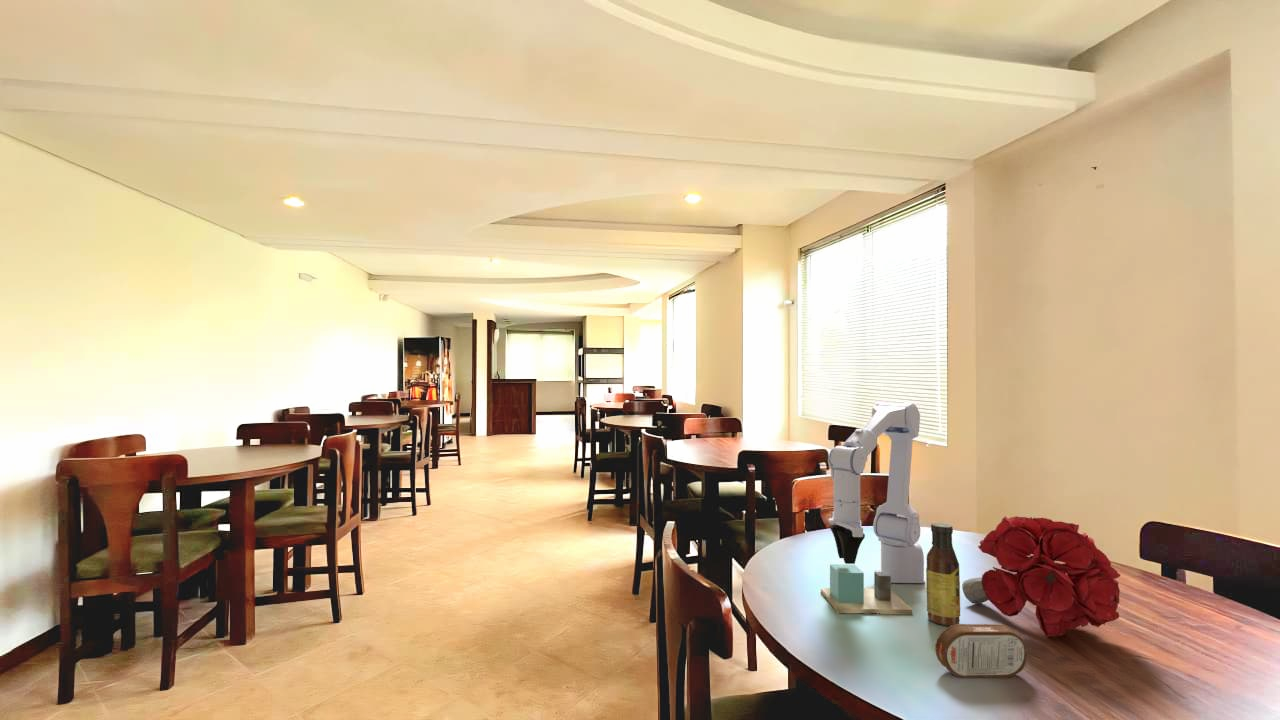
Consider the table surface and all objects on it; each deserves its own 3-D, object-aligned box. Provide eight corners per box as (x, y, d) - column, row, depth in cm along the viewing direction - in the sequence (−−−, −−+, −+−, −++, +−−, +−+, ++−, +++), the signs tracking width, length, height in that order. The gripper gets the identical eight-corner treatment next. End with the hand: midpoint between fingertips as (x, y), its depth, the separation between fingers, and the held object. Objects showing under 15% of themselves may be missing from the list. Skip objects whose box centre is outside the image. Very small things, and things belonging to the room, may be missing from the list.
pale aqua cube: (854, 593, 135) (854, 564, 135) (863, 603, 129) (863, 573, 129) (830, 593, 135) (830, 564, 135) (838, 603, 129) (838, 572, 129)
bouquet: (956, 652, 123) (1098, 630, 100) (915, 538, 134) (1033, 495, 111) (1023, 641, 131) (1168, 618, 108) (979, 535, 143) (1100, 494, 120)
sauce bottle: (964, 628, 119) (964, 530, 119) (931, 625, 120) (931, 528, 120) (954, 615, 125) (953, 522, 125) (922, 612, 126) (922, 520, 127)
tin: (1018, 670, 102) (1018, 621, 103) (1031, 679, 99) (1031, 629, 99) (934, 671, 102) (934, 622, 102) (944, 681, 99) (944, 630, 99)
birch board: (889, 592, 138) (889, 565, 138) (912, 614, 126) (912, 583, 126) (820, 592, 138) (820, 564, 138) (837, 613, 126) (837, 583, 126)
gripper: (819, 493, 139) (819, 550, 139) (839, 507, 125) (839, 571, 125) (849, 493, 139) (849, 550, 139) (872, 507, 125) (872, 571, 125)
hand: (846, 560), depth 132 cm, fingers open, 3 cm apart
